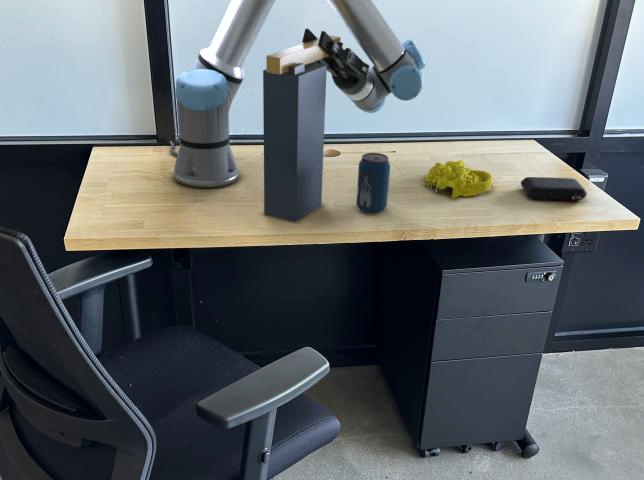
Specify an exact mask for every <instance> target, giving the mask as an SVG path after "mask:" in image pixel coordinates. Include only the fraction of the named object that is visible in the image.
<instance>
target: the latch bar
mask: <svg viewBox="0 0 644 480" xmlns="http://www.w3.org/2000/svg"><path fill="white" fill-rule="evenodd" d="M328 35H329V37H330V38H331V39H332V40H333V41H334V42H335V43H336V44H338V42H341V36H337V35H336V36H335V35H330V34H328ZM319 39H320V37H319V38H318V39H315V40H312V41H309V42H306V43H303V42H302V43H300V44H298V45H294V46H291V47H288V48H285V49H283V50H279V51H277V52H273V53H271V54H267V55H266V57H265V59H266V61H265V63H266V68H265V69H266V72H268V73H274V74H279V75H280V74H283V73H285V72H288V71H289V67H290V66H292V65H295V64H298V63H303V64H304V65H307V64H309V63H312V62H315V61H317V60H320V59H323V58H325V57H328V56H329V55H328V54H327V53H326V52H325V51H324V50H323V49H322V48H321V47H320V46H319V45H318V43H319Z"/></svg>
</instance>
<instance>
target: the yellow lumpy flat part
mask: <svg viewBox="0 0 644 480" xmlns="http://www.w3.org/2000/svg"><path fill="white" fill-rule="evenodd" d="M424 183H425V184H424V185H425V186H426V185H427V187H429V186H431V185H433V186H436V188H435V193H437V192H438V189H439V191H440V190H444V189H448V188H447V187H449V188H451V189H452V195H451V198H452V199H454V198H455V199H456V198H458V197H462V196H463V197H471V196H477V195H482V194H484V193H486V192H489V191H490V190H491V189H492V186H493V175H492V174H491V173H490V172H488V171H485V170H478V169H472V168H471V167H466V164H465V160H462V159H460V160H457V161H453V160H448V161H446V162H445V164H444V163H441V162H439V161H437V162H436V163H435V164H434V166H432V167H431V168H430V169H429V171H428V172H427V175H426V178H425V182H424ZM430 189H431V190H432V187H430Z"/></svg>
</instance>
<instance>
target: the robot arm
mask: <svg viewBox="0 0 644 480" xmlns="http://www.w3.org/2000/svg"><path fill="white" fill-rule="evenodd" d="M326 1H327V3H328V4H329V5H330V7H331V8H332V10H333V11H334V13H335V14H336V15H337V17H338V18H339V19H340V21H341V22H342V23H343V25H344V26H345V27H346V29H347V31H348V32H349V33H350V35H351V36H352V37H353V39H354V40H355V42H356V44H357V45H358V46H359V47H360V49H361V50H362V51H363V52H364V54H365V55H366V57H367V58H368V59H369V61H370V62H371V63H372V65H373V66H372V67H370V64H368V63H366V62H364V61H363V60H362V59H361V58H360V56H358V55H357V54H356V52H354V51H353V50H352V49H351V48H349V47H345V49H344V47H343V46H344V42H342V41H340V42H338V44H336V43H335V42H334V41H333V40H332V39H331V38H330V37H329V35H330V34H328V33H327V32H326V30H325V31H324V30H321V31H320V36H319V38H320V39H319V38H318V37H317V36H316V35H315V34H314V33H313V31H311V30H310V29H309V28H305V29H304V34H303V37H302V41H301V42H302V44H303V43H306V42H309V41H312V40H315V39H319V43H318V45H319V46H320V47H321V48H322V49H323V50H324V51H325V52H326V53H327V54H328V55H329V56H328V57H325V58H323V59H320V60H317V61H315V62H312V63H317V64H323V65H327V72H328V73H330V74H331V78H332V81H333V83H334V85H335V86H336V87H337V88H338V89H339V90H340V91H341V92H342V93H343V94H344V95H345V96H346V97H347V98H348V99H349V100H350V101H351V102H353V104H354V105H355V106H356V107H357V109H360V110H361V111H363V112H364V113H368V114H373V113H377V112H378V111H380V110H381V109H382V108H383V107H384V105H385V103H386V100H387V96H389V95H390V94H391V93H392V95H393V96H394V97H395V98H396V99H398V100H400V101H404V102H407V101H411V100H414V99H416V98H417V97H418V96H419V95H420V93H421V91H422V90H423V86H424V77H423V73H422V70H423V69H424V68H425V67H426V64H427V63H426V61H425V59H424V57H423V56H422V54H421V52H420V51H419V49H418V47H417V45H416V44H415V43H414V41H412V40H411V39H408V40H405V41H404V42H403V43H401V41H400V39H399V38H398V36H397V35H396V34H395V32H394V30H393V29H392V28H391V26H390V25H389V23H388V22H387V21H386V19H385V18H384V16H383V14H381V12H380V10H379V8H377V6H376V4H375V3H374V2H373V1H372V0H326ZM275 2H276V0H231V1H230V3H229V5H228V7H227V9H226V12H225V15H224V16H223V18H222V20H221V23H220V25H219V27H218V29H217V31H216V33H215V35H214V37H213V39H212V42H211V43H210V46H209V47H206V48H203V49H200V52H199V54H198V56H197V58H196V60H195V63H194V65H193V67H192V69H189V70H188V71H183V72H182V73H180V74H179V75H178V76H177V77H176V79H175V88H174V95H175V98H176V99H175V101H176V114H177V125H178V126H177V128H178V140H179V147H178V150H177V152H176V151H174V148H175V143H174V142H173V141H172V140H171V141H169V140H167V139H165V138H161V137H160V139H159V140H160V141H164V140H166V141H167V142H168V143H169V144H170V145H171V146H170V147H169V152H170V154H172V155H174V156H176V159H175V162H174V166H173V167H174V168H173V177H174V179H175V181H176V182H178V184H181V185H183V186H187V187H191V188H197V189H198V188H199V189H200V188H201V189H212V188H214V189H215V188H220V187H221V188H222V187H225V186H229V185H231V184H233V183H235V182H236V181H237V180H238V179H239V169H238V165H237V162H236V159H235V157H234V154H233V151H232V148H231V145H230V123H229V122H230V121H229V118H230V117H229V114H230V113H229V112H230V108H231V105H232V103H233V101H234V99H235V97H236V95H237V93H238V90H239V89H240V87H241V85H242V83H243V81H244V79H245V72H244V69H243V66H244V64H245V62H246V61H247V59H248V56H249V54H250V52H251V50H252V48H253V47H254V44H255V43H256V40H257V38H258V36H259V35H260V32H261V30H262V29H263V26H264V25H265V22H266V20H267V18H268V16H269V14H270V13H271V10H272V9H273V6H274V5H275Z"/></svg>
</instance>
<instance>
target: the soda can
mask: <svg viewBox="0 0 644 480" xmlns="http://www.w3.org/2000/svg"><path fill="white" fill-rule="evenodd" d="M390 173H391V163H390V161H389V156H388V155H386V154H384V153H381V152H367V153H363V154H362V156H361V159H360V161H359V162H358V173H357V184H356V185H357V186H356V200H355V203H356V206H357V208H358V211H360V212H361V213H364V214H366V215H379V214H381V213H383V212H384V211H385V209H386V208H387V206H388V198H389V197H388V196H389V186H390V175H391V174H390Z"/></svg>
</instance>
